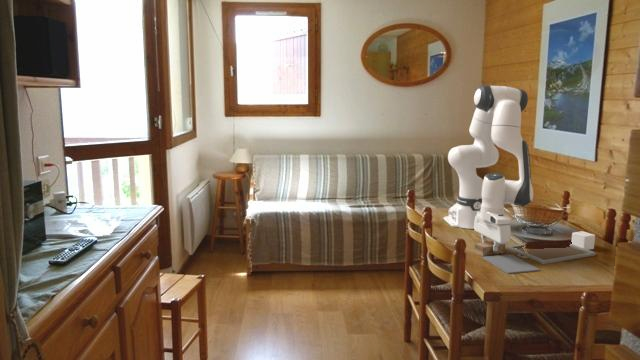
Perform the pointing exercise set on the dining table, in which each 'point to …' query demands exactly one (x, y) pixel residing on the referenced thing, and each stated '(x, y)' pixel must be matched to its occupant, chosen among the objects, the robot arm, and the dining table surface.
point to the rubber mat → (510, 264)
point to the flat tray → (552, 253)
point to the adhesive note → (583, 240)
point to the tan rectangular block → (488, 248)
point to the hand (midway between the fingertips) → (489, 248)
